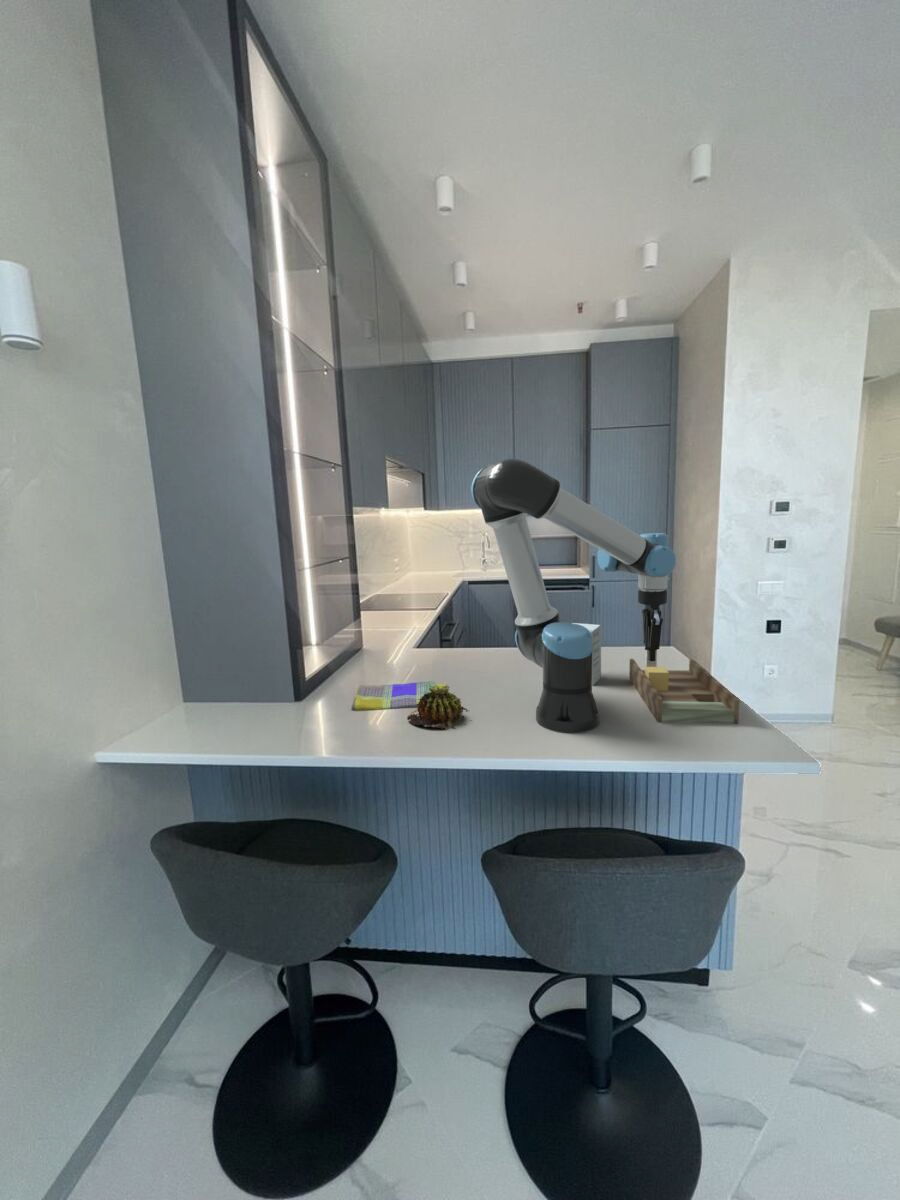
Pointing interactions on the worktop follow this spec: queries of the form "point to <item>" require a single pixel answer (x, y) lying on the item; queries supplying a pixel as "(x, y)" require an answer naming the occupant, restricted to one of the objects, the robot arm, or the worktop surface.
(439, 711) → the cactus
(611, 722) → the worktop surface
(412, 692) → the dish towel
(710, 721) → the tray
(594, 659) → the supplement box
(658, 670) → the block
